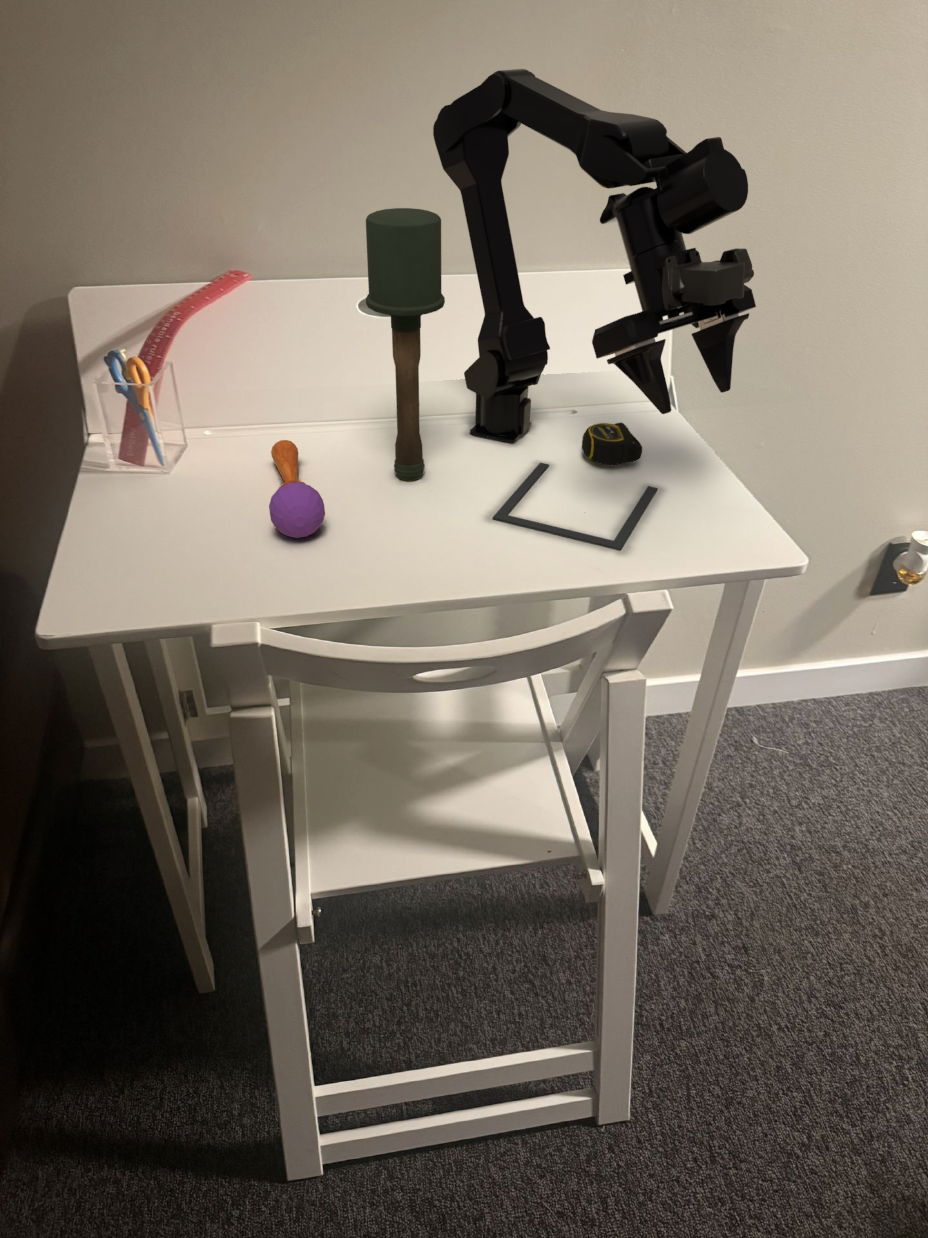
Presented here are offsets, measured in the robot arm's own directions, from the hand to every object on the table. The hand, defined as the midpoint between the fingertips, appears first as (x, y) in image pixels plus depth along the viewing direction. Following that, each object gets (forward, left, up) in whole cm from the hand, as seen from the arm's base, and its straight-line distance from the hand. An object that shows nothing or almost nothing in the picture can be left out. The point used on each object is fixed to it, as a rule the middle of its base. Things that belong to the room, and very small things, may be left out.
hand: (696, 401), depth 94 cm
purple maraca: (-42, -15, -15) cm, 47 cm away
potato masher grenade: (-33, -3, -15) cm, 36 cm away
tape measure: (-12, +13, -15) cm, 23 cm away
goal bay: (-12, 0, -15) cm, 19 cm away
